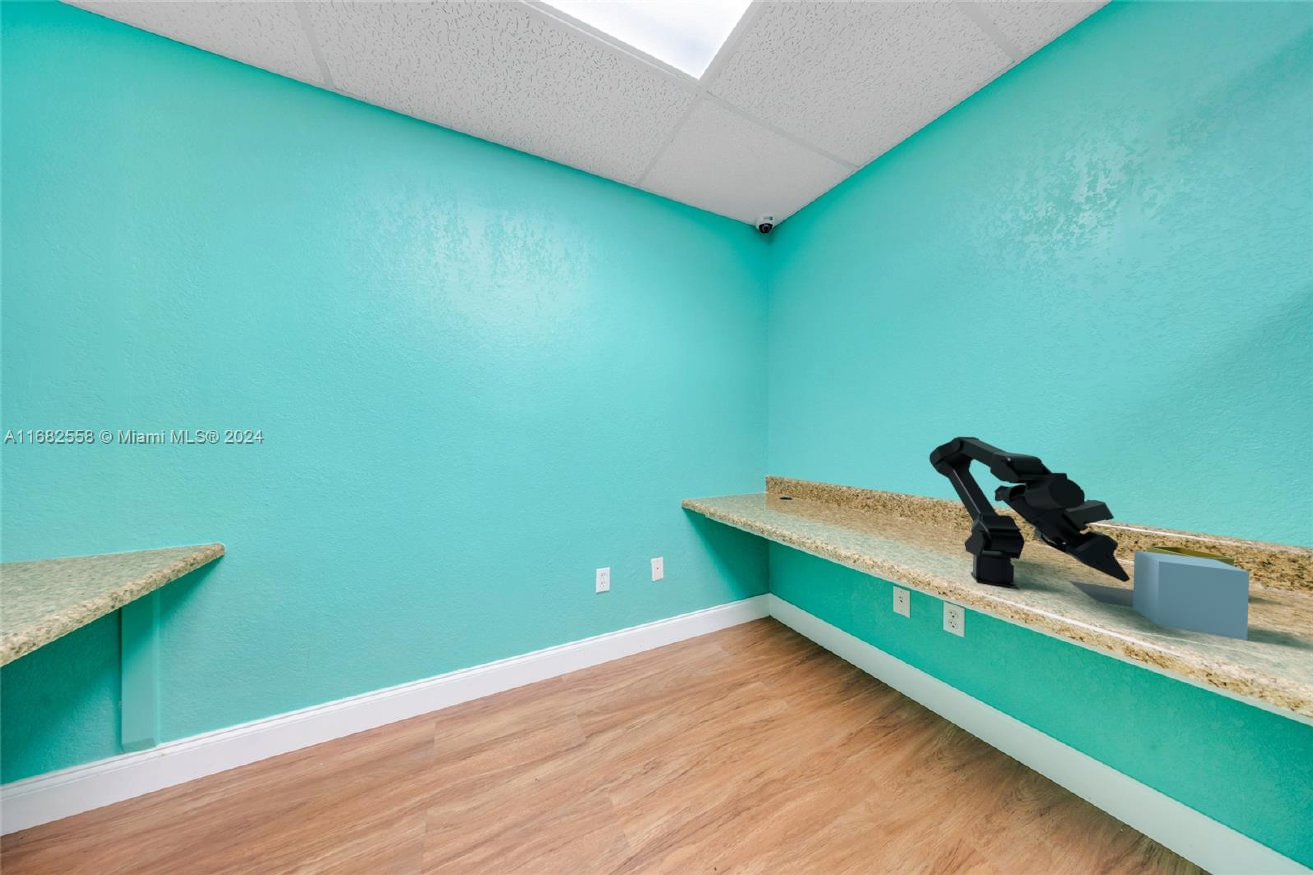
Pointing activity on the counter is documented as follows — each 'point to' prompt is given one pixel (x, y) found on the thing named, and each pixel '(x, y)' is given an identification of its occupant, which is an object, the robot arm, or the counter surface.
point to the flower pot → (1189, 553)
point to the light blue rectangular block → (1191, 594)
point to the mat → (1107, 594)
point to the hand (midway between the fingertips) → (1112, 572)
